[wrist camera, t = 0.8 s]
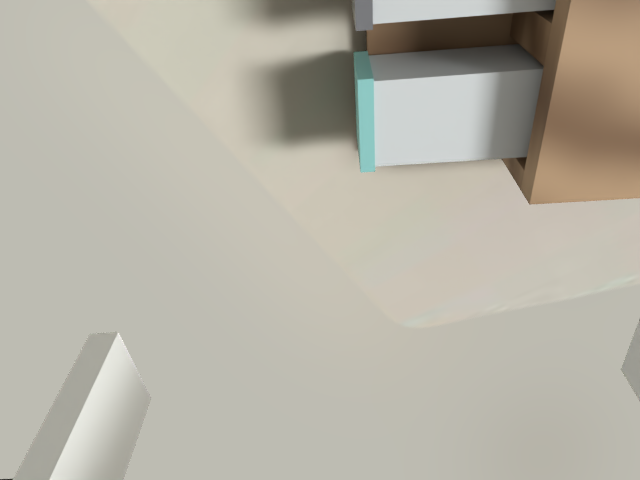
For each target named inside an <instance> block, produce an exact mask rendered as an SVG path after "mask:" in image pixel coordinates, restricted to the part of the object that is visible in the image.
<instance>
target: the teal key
mask: <svg viewBox="0 0 640 480" xmlns="http://www.w3.org/2000/svg"><path fill="white" fill-rule="evenodd" d="M543 68H544V66H543V65H542V64H541V63H540V62H539V61H537V60H536V59H535V58H534V57H533V56H532V55H531V54H530V53H528V52H527V51H526V50H525V49H524V48H523V47H522V46H521V45H519V44H512V45H499V46H486V47H473V48H460V49H447V50H434V51H421V52H408V53H395V54H382V55H368V51H361V52H354V75H355V101H356V128H357V142H358V152H359V161H360V170H361V172H375V167H376V166H392V165H408V164H423V163H439V162H455V161H471V160H487V159H502V158H518V157H527V154H528V148H529V143H530V138H531V132H532V127H533V122H534V116H535V111H536V106H537V100H538V95H539V90H540V84H541V79H542V74H543Z"/></svg>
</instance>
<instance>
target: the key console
mask: <svg viewBox="0 0 640 480" xmlns="http://www.w3.org/2000/svg"><path fill="white" fill-rule="evenodd" d="M512 44H519V45H521V46H522V47H523V48H524V49H525V50H526V51H527V52H528V53H530V54H531V55H532V56H533V57H534V58H535V59H536V60H537V61H539V62H540V63H541V64H542V65H543V66H544V68H543V74H542V79H541V84H540V90H539V95H538V100H537V106H536V111H535V116H534V122H533V127H532V132H531V138H530V143H529V148H528V154H527V157H518V158H502V160H503V162H504V163H505V165H506V167H507V168H508V170H509V172H510V173H511V175H512V176H513V178H514V180H515V181H516V183H517V185H518V186H519V188H520V190H521V191H522V193H523V194H524V196H525V198H526V199H527V201H528V203H529V204H545V203H562V202H579V201H597V200H614V199H631V198H640V0H556V4H555V9H554V10H543V11H531V12H518V13H506V14H493V15H481V16H469V17H456V18H444V19H431V20H419V21H406V22H394V23H381V24H373V30H366V49H367V51H368V55H382V54H395V53H408V52H421V51H434V50H447V49H460V48H473V47H486V46H499V45H512Z"/></svg>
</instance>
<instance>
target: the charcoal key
mask: <svg viewBox="0 0 640 480" xmlns="http://www.w3.org/2000/svg"><path fill="white" fill-rule="evenodd" d="M555 4H556V0H352V12H353V17H354V23H355V29H356V31H364V30H373V24H381V23H394V22H406V21H419V20H431V19H444V18H456V17H469V16H481V15H493V14H506V13H518V12H531V11H543V10H554V9H555Z"/></svg>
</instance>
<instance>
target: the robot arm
mask: <svg viewBox="0 0 640 480" xmlns="http://www.w3.org/2000/svg"><path fill="white" fill-rule="evenodd" d="M621 371H622V372H623V374H624V376H625V377H626V379H627V381H628V382H629V384H630V386H631V387H632V389H633V391H634V392H635V394H636V396H637V397H638V399H639V400H640V320H639V322H638V325H637V328H636V330H635V333H634V336H633V339H632V341H631V344H630V347H629V349H628V352H627V355H626V357H625V360H624V363H623V365H622V368H621ZM150 400H151V397H150V395H149V393H148V391H147V389H146V387H145V385H144V383H143V381H142V379H141V377H140V375H139V373H138V371H137V369H136V367H135V365H134V363H133V361H132V359H131V357H130V355H129V353H128V351H127V349H126V347H125V345H124V343H123V341H122V339H121V337H120V334H119V332H111V333H97V334H90V335H89V337H88V338H87V340H86V342H85V344H84V346H83V348H82V350H81V352H80V354H79V355H78V358H77V359H76V361H75V363H74V365H73V367H72V369H71V371H70V372H69V374H68V376H67V378H66V380H65V382H64V384H63V386H62V388H61V390H60V391H59V393H58V395H57V397H56V399H55V401H54V403H53V405H52V407H51V408H50V410H49V412H48V414H47V416H46V418H45V420H44V422H43V424H42V426H41V427H40V429H39V431H38V433H37V435H36V437H35V439H34V441H33V442H32V444H31V446H30V448H29V450H28V452H27V454H26V456H25V458H24V460H23V461H22V463H21V465H20V467H19V469H18V471H17V473H16V475H15V477H14V478H13V479H0V480H123V479H124V476H125V473H126V470H127V468H128V464H129V462H130V459H131V456H132V453H133V450H134V447H135V444H136V441H137V438H138V436H139V433H140V430H141V427H142V424H143V421H144V418H145V415H146V412H147V409H148V406H149V403H150Z"/></svg>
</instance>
